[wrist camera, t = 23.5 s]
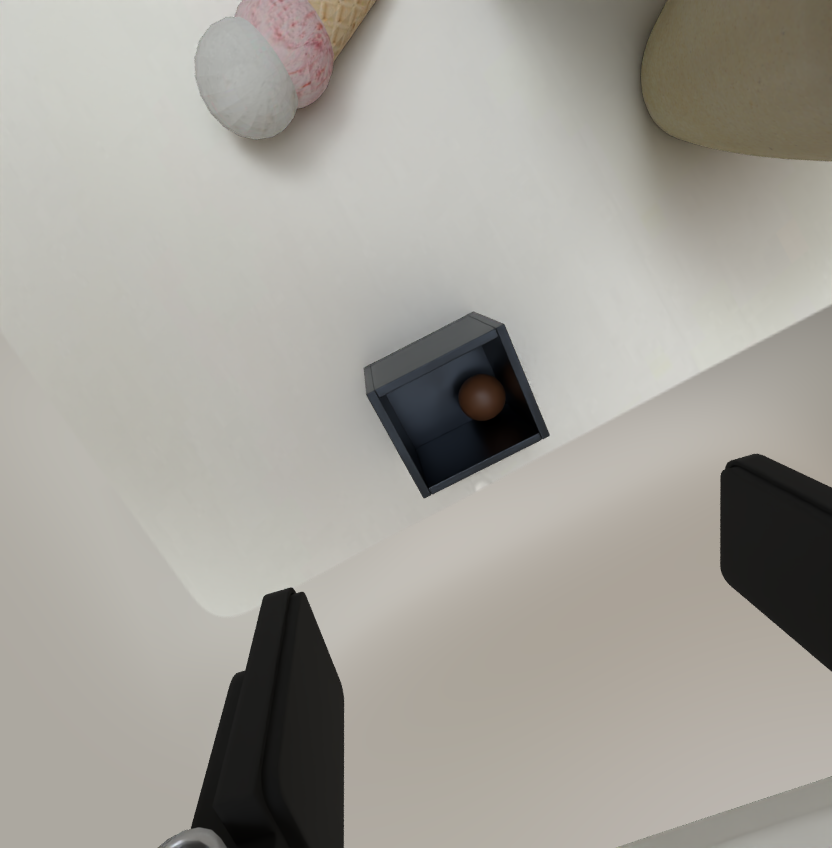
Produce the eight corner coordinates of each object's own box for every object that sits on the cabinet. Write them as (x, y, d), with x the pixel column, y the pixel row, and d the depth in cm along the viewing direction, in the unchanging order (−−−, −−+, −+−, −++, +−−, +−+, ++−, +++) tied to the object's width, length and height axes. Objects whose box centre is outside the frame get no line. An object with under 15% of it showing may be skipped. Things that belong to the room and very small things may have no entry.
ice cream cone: (384, -129, 23) (161, 63, 22) (440, -170, 20) (182, 54, 19) (426, -16, 27) (234, 158, 25) (480, -34, 24) (263, 164, 22)
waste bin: (410, 455, 33) (423, 499, 27) (363, 368, 30) (366, 394, 24) (513, 403, 33) (550, 436, 26) (473, 311, 30) (504, 323, 24)
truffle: (458, 429, 30) (503, 431, 30) (468, 390, 28) (516, 393, 28) (451, 400, 32) (493, 403, 32) (459, 363, 30) (504, 366, 30)
